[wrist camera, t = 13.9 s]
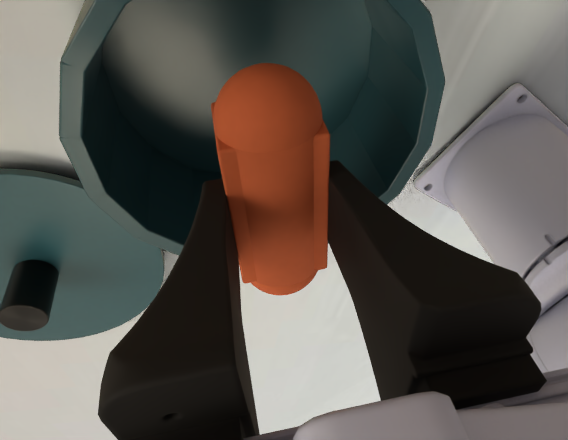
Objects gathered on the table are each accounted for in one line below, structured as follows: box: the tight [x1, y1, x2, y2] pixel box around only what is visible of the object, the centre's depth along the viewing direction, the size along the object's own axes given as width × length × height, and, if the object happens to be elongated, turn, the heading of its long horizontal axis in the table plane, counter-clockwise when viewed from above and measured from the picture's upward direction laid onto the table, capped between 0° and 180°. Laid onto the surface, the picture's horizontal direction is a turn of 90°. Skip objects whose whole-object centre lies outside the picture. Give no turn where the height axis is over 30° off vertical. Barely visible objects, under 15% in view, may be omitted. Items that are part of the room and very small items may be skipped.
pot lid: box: [0, 169, 164, 341], centre depth 25 cm, size 14×14×4 cm
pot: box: [59, 0, 445, 255], centre depth 18 cm, size 13×13×6 cm
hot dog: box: [211, 63, 330, 295], centre depth 14 cm, size 9×3×3 cm, turn 3°
